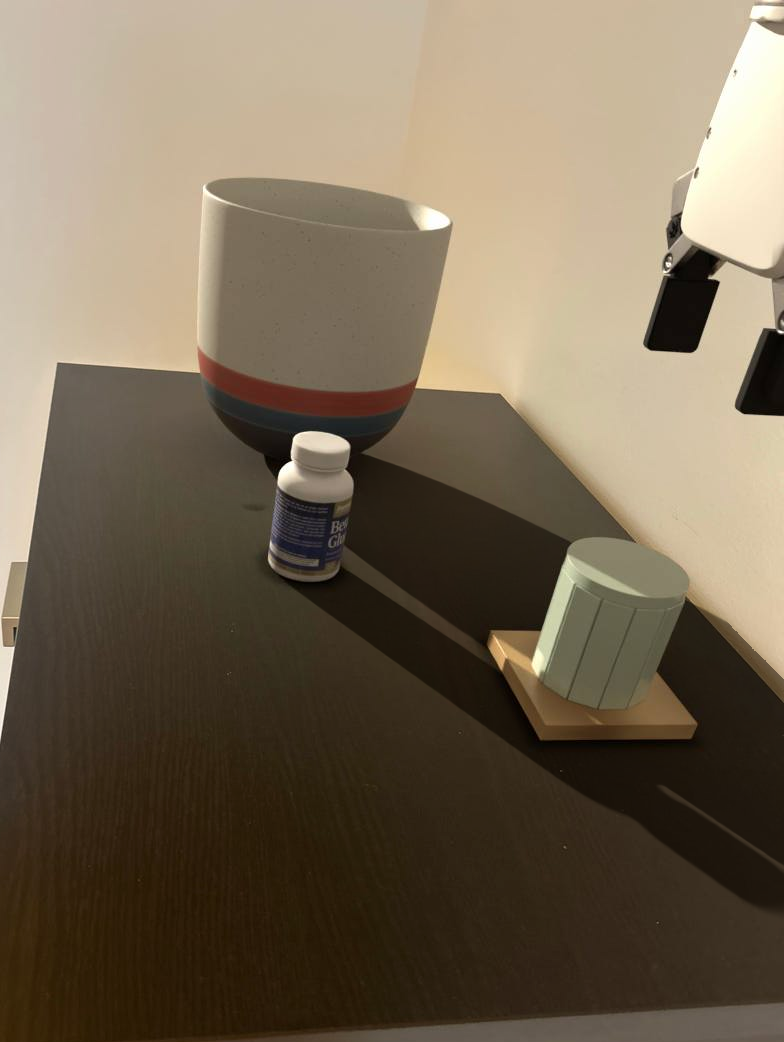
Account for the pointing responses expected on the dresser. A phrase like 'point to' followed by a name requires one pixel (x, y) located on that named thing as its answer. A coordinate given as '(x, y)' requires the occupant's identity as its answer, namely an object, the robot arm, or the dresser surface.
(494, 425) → the dresser surface
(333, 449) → the pill bottle
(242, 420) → the planter
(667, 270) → the robot arm
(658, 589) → the cup
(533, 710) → the peg stand
